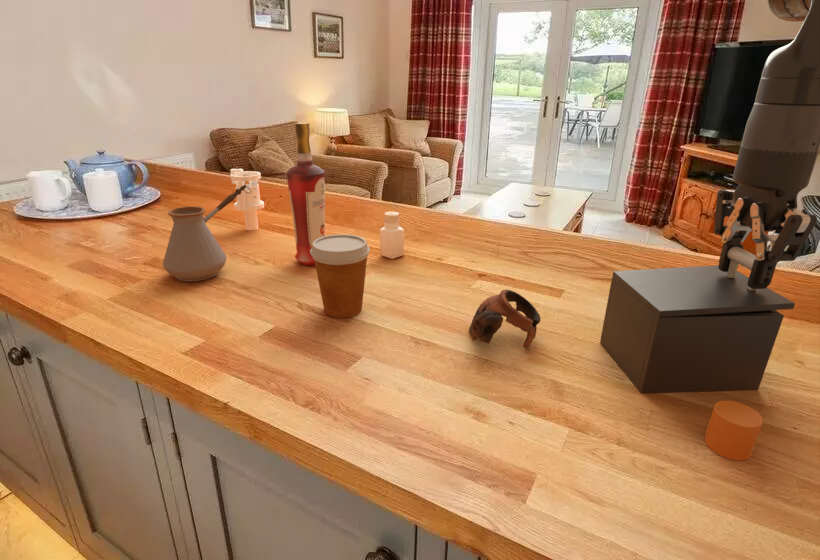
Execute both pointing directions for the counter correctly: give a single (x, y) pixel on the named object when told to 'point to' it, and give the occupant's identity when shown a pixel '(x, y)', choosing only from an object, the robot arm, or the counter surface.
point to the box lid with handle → (701, 289)
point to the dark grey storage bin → (687, 346)
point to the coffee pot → (194, 243)
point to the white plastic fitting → (248, 196)
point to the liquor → (306, 197)
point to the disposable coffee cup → (341, 272)
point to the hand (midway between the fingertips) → (741, 278)
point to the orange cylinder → (733, 430)
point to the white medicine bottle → (391, 236)
